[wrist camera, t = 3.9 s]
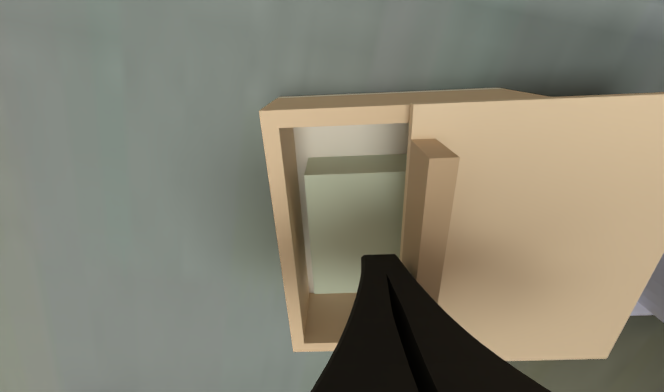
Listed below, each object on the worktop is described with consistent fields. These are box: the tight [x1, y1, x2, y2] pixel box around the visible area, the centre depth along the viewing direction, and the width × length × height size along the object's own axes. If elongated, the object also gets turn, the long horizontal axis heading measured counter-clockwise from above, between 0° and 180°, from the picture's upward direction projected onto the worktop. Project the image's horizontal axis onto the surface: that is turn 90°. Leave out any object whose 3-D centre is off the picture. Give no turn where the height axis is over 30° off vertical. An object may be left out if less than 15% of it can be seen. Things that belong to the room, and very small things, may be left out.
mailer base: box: [259, 88, 549, 352], centre depth 14 cm, size 10×12×4 cm
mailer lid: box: [400, 92, 664, 361], centre depth 11 cm, size 10×12×2 cm
